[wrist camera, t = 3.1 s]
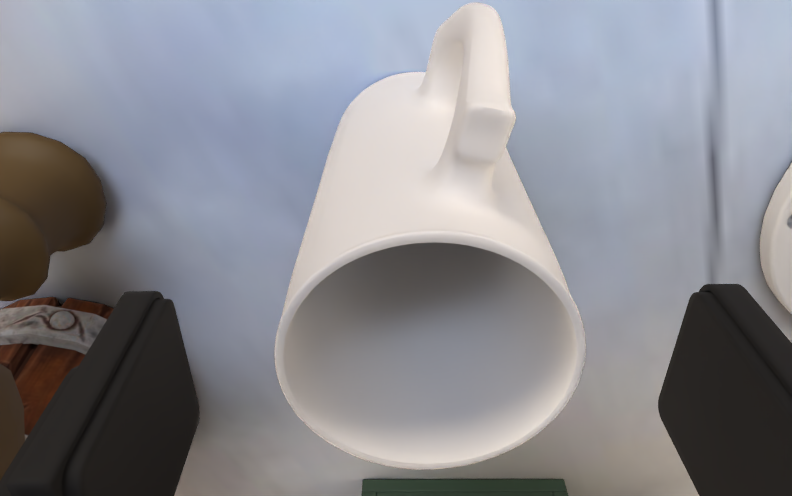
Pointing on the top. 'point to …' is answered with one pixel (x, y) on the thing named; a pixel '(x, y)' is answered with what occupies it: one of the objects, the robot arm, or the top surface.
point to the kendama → (38, 236)
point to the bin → (464, 487)
